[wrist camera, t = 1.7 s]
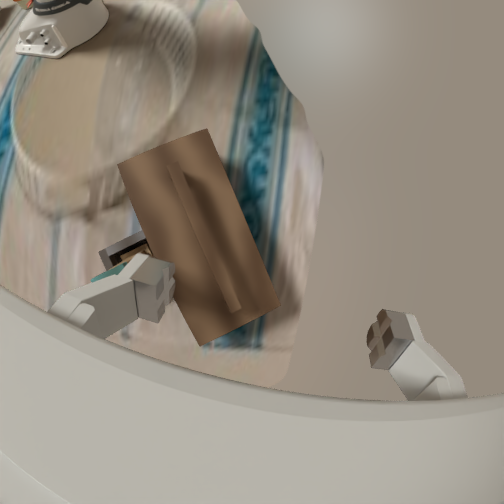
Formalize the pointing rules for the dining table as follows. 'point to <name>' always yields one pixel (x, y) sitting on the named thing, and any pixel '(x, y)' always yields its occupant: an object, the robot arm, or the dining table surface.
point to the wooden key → (124, 262)
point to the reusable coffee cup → (24, 3)
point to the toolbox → (197, 235)
